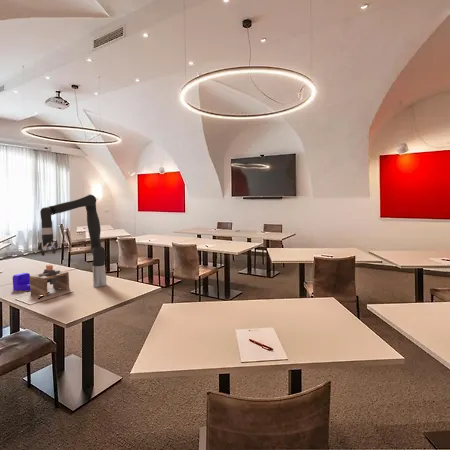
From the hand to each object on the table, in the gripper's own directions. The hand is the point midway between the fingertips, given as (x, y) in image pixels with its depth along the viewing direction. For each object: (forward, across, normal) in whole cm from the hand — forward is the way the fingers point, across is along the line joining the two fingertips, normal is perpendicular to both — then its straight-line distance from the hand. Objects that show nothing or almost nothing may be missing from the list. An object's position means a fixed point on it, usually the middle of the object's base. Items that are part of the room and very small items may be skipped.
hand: (48, 254), depth 222 cm
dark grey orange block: (+22, 0, 0) cm, 22 cm away
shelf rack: (+29, 0, 0) cm, 29 cm away
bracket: (+29, +2, -23) cm, 37 cm away
